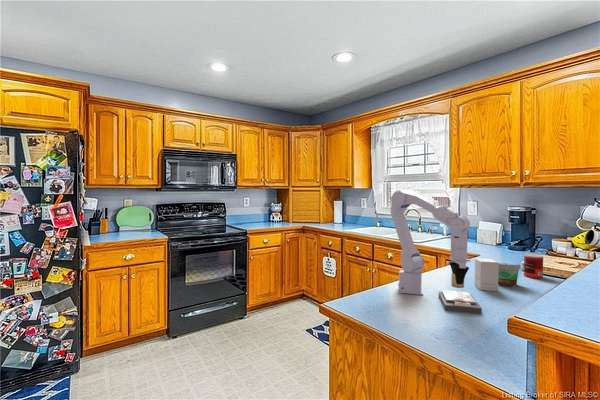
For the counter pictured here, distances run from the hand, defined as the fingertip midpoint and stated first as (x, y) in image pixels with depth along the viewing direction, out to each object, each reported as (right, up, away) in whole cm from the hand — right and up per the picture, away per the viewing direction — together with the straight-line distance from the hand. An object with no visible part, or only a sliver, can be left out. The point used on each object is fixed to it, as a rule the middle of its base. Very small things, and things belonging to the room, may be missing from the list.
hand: (458, 282), depth 120 cm
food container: (+33, -8, +22) cm, 41 cm away
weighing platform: (0, -6, 0) cm, 6 cm away
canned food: (+56, -7, +36) cm, 67 cm away
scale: (0, -8, -1) cm, 8 cm away
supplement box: (+22, -8, +18) cm, 30 cm away
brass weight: (0, -2, 0) cm, 2 cm away
